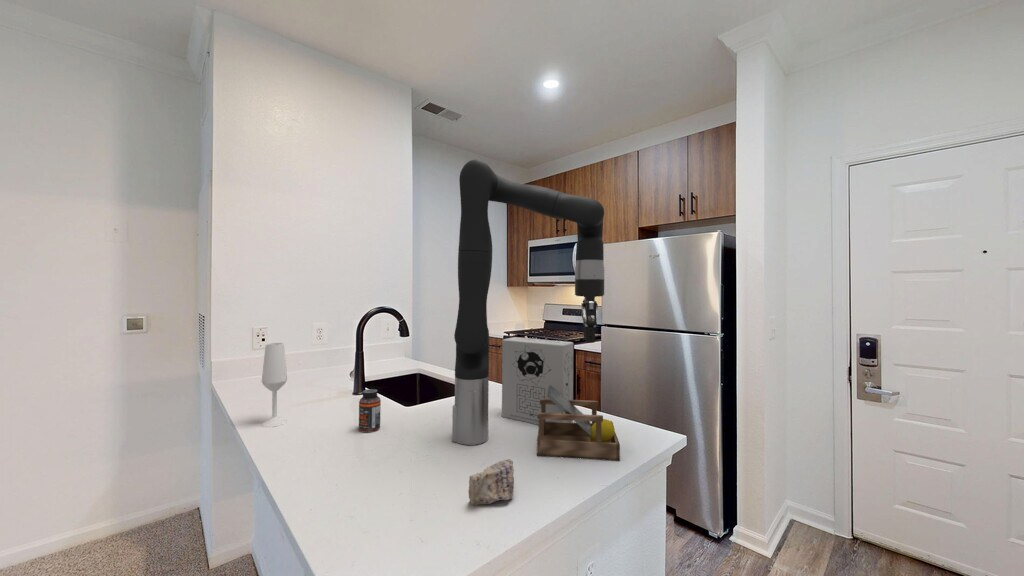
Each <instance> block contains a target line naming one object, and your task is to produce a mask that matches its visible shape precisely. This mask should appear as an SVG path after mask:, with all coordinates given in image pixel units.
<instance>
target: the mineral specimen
mask: <svg viewBox="0 0 1024 576" xmlns="http://www.w3.org/2000/svg"><path fill="white" fill-rule="evenodd" d="M514 473H515V469H514V462H513V460H512V459H510V458H508V459H504V460H500V461H498V462H495V463H494V464H492V465H490V466H488V467H486V468H485V469H484V470H483V471H481V472H476V473H474V474H471V475H470V476H469V479H468V484H469V486H468V500H469V501H470V503H471V505H473V506H477V505H485V504H487V505H490V504H493V503H495V502H498V501H500V500H501V501H507V500H511V499H513V496H514V495H513V494H514V485H515V477H514Z"/></svg>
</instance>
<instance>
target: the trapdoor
mask: <svg viewBox="0 0 1024 576" xmlns="http://www.w3.org/2000/svg"><path fill="white" fill-rule="evenodd" d="M547 397H548V398H549V399H550V400H552V401H553V402H554V403H555V404H556V405H557V406H558V407H559V408H560V409H562V410H563V411H564V412H565V414H584V413H583V412H582V411H581V410H579V408H577V407H576V406H574V405H573V404H572V403H570V402H569V401H568V400H567V399H566V398H565V397H564V396H563V395H561V394H560V393H559V392H558V391H557V390H556V389H555V388H554V387H553V386H551V385H550V386H549V388H548V396H547ZM574 423H577V424H578V425H579V426H580V427H582V428H583V429H584V430H585V431H586V432H587V433H588V434H589V435H591V434H592V430H591V425H590V423H591V421H574Z"/></svg>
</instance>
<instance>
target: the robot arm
mask: <svg viewBox="0 0 1024 576" xmlns="http://www.w3.org/2000/svg"><path fill="white" fill-rule="evenodd" d="M459 194H460V196H459V197H460V221H459V222H460V223H459V236H458V237H459V238H458V253H457V282H458V283H457V285H458V309H457V318H456V323H455V324H456V325H455V328H454V341H455V364H454V405H452V433H451V434H452V435H451V436H452V437H451V438H452V441H451V442H453V443H458V444H459V445H460V444H461V445H465V446H467V445H468V446H473V445H474V446H475V445H480V444H483V443H486V442H487V441H488V439H489V392H490V391H489V390H490V389H489V388H490V387H489V383H490V382H489V381H490V380H489V378H490V375H489V374H490V372H489V371H490V370H489V369H490V367H489V366H490V330H489V327H488V326H489V325H488V312H487V311H488V310H487V303H488V294H489V290H490V289H489V288H490V283H491V277H492V268H493V267H492V266H493V240H492V232H491V227H490V222H489V202H493V203H494V202H495V203H501V204H506V205H512V206H515V207H519V208H522V209H524V210H527V211H530V212H534V213H536V214H540V215H542V216H546V217H550V218H552V219H556V220H567V221H569V222H572V223H576V233H577V234H576V235H577V241H576V246H575V247H576V253H575V260H576V261H575V268H574V269H575V270H574V276H575V277H574V295H575V296H576V297H584V298H583V300H582V303H581V306H580V307H581V318H582V323H583V324H582V325H583V338H584V339H585V342H586V343H590V344H591V343H595V342H596V327H597V324H598V322H597V320H598V307H599V305H598V302H597V300H596V297H604V295H605V263H604V259H605V258H604V256H605V254H604V253H605V252H604V249H605V247H604V241H603V229H604V219H605V217H604V216H605V209H604V206H603V205H602V203H600V202H599V201H598V200H596V199H594V198H590V197H587V196H581V195H575V194H568V193H565V192H563V191H560V190H555V189H553V188H549V187H545V186H541V185H536V184H535V185H534V184H525V183H519V182H515V181H511V180H509V179H506V178H504V177H502V176H500V175H499V174H496V173H495V172H494V170H493V169H492V168H491V167H490V165H488V164H487V163H486V162H485V161H483V160H482V159H477V158H475V159H471V160H469V161H467V162H466V163H465V164H464V165H463V166H462V168H461V170H460V173H459Z"/></svg>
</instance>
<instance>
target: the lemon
mask: <svg viewBox="0 0 1024 576" xmlns="http://www.w3.org/2000/svg"><path fill="white" fill-rule="evenodd" d="M591 430H592V434H591V435H589V436H590V442H596V422H595V423H594V424H593V425H592V427H591ZM614 433H616V430H615V426H614V421H612V420H609V419H605V418H603V422H601V442H607V443H608V442H609V441H610V440H611V439H612V437H613V436H614Z"/></svg>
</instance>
